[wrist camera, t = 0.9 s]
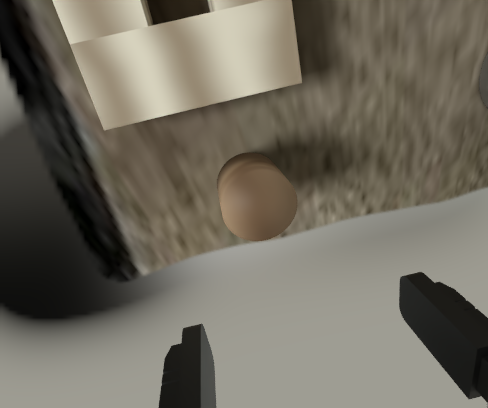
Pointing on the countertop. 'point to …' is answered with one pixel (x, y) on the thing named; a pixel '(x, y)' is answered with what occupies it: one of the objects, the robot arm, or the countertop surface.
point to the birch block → (178, 55)
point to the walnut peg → (255, 197)
